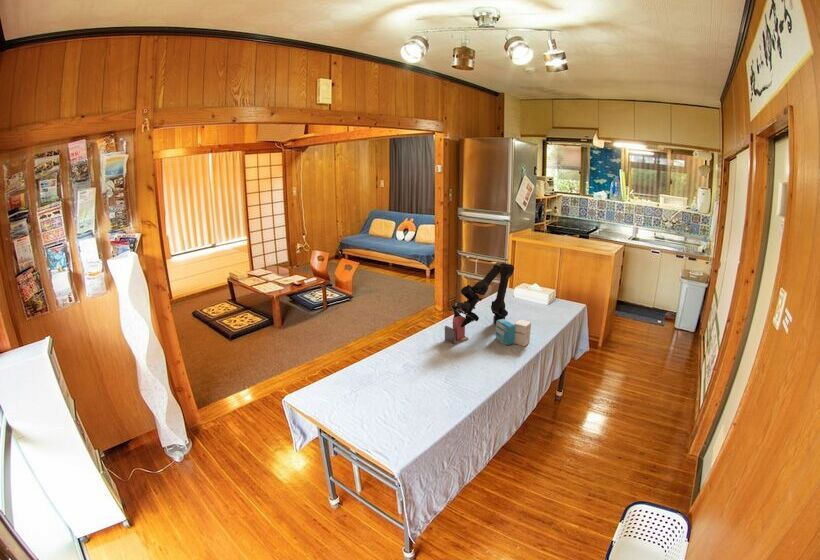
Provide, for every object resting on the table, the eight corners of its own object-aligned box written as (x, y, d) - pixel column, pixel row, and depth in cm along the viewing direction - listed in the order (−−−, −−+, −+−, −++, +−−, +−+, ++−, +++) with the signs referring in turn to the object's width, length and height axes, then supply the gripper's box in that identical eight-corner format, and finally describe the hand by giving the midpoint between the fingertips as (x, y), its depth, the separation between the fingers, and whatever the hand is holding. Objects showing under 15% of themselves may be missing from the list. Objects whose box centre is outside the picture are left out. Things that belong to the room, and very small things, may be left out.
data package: (495, 338, 252) (496, 319, 248) (501, 336, 253) (502, 318, 250) (508, 346, 241) (509, 327, 238) (514, 344, 243) (515, 325, 239)
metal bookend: (446, 339, 251) (446, 325, 248) (455, 344, 245) (455, 330, 242) (444, 340, 250) (444, 326, 247) (453, 345, 244) (453, 330, 241)
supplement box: (512, 343, 245) (513, 323, 241) (518, 338, 250) (519, 319, 246) (524, 346, 240) (526, 326, 236) (530, 341, 246) (531, 321, 242)
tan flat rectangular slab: (458, 335, 257) (458, 333, 256) (468, 339, 250) (468, 337, 250) (446, 339, 251) (446, 337, 251) (455, 344, 245) (455, 342, 245)
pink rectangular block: (460, 334, 254) (460, 315, 250) (464, 337, 251) (465, 317, 247) (452, 337, 251) (452, 318, 247) (457, 339, 248) (457, 320, 244)
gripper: (453, 291, 252) (439, 313, 250) (475, 300, 238) (461, 323, 235) (462, 301, 259) (449, 322, 257) (485, 310, 245) (471, 332, 242)
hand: (457, 325), depth 248 cm, fingers open, 7 cm apart
